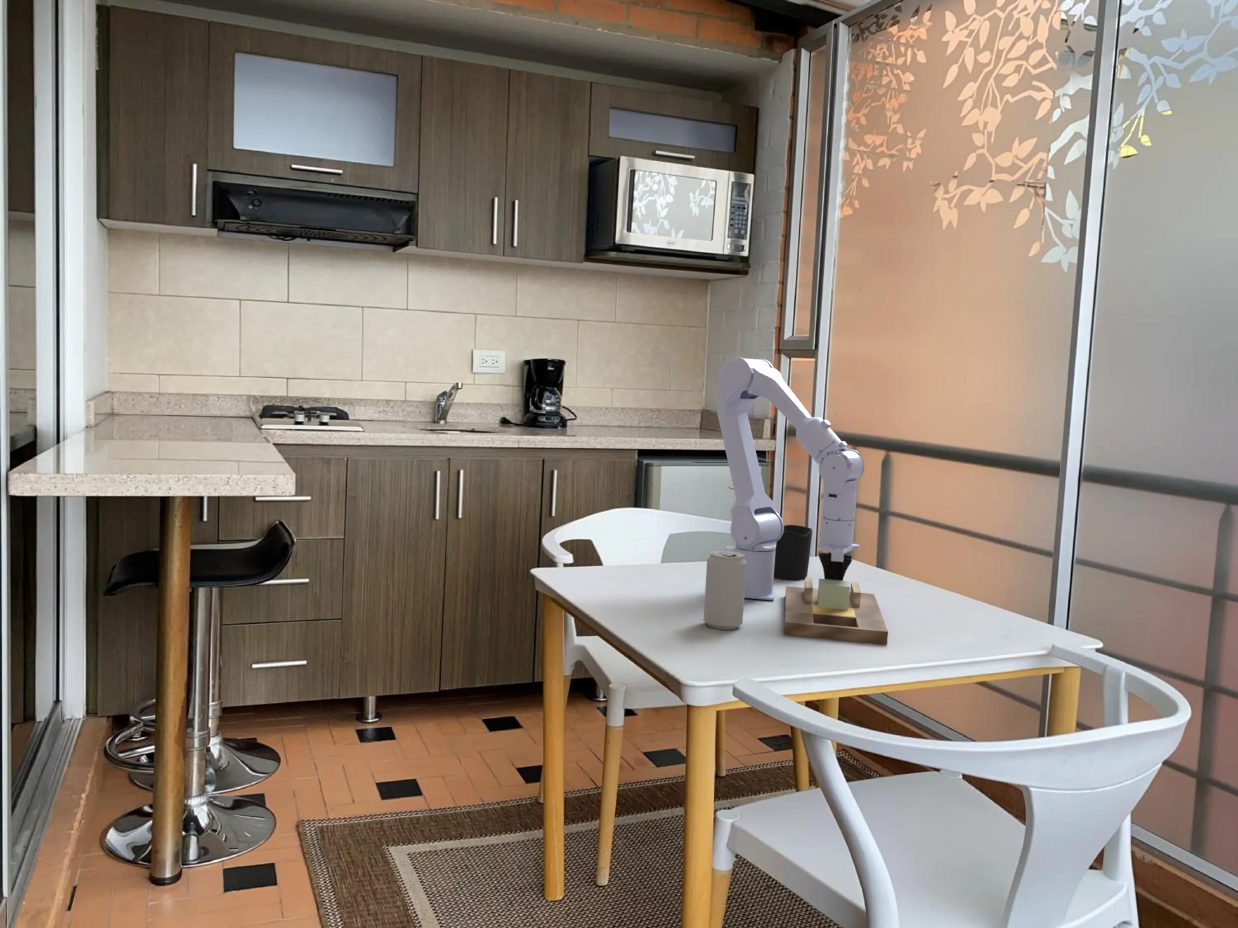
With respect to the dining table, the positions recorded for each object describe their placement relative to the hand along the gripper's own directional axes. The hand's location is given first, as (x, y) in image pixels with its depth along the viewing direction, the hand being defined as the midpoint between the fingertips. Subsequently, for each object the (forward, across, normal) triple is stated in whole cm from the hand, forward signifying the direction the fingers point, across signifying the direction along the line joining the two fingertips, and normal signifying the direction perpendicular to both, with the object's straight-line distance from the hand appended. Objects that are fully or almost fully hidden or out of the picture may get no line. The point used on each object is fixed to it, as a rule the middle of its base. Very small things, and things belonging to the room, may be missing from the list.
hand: (832, 594), depth 183 cm
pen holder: (+3, +29, +8) cm, 30 cm away
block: (+1, -4, 0) cm, 4 cm away
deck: (+3, -5, 0) cm, 6 cm away
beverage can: (+3, -17, +18) cm, 25 cm away
